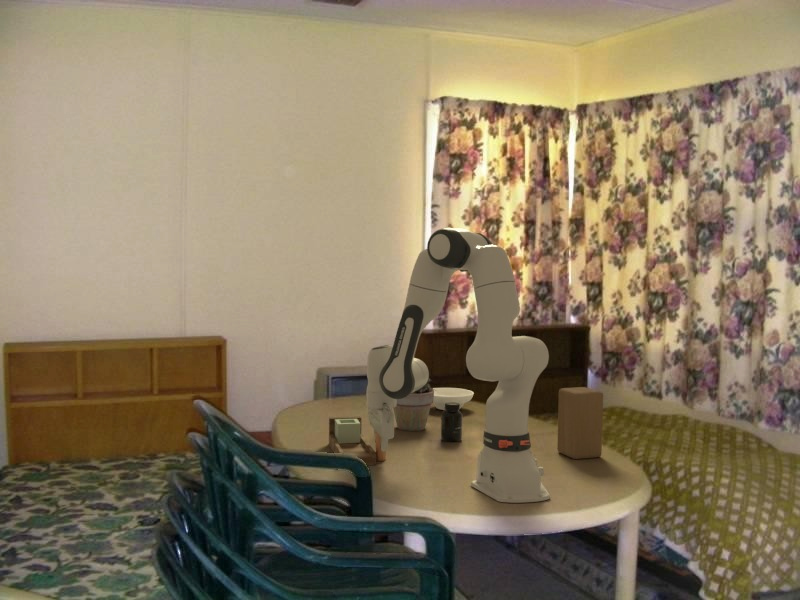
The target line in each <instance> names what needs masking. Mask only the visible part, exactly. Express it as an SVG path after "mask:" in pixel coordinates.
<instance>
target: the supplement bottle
mask: <svg viewBox="0 0 800 600" xmlns="http://www.w3.org/2000/svg"><path fill="white" fill-rule="evenodd" d="M440 417H441V420H440V421H441V422H440V423H441V425H440V438H441V440H442V441H444V442H449V443H457V442H460V441H462V440H463V439H462V438H463V436H462V435H463V413H462V412H461V411H460V404H459V403H455V402H448V403H445V410H443V411H442V412H441V416H440Z"/></svg>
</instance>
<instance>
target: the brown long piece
mask: <svg viewBox="0 0 800 600" xmlns="http://www.w3.org/2000/svg"><path fill="white" fill-rule="evenodd" d="M335 419H358V421H359V422H360V423H361V424H362V417H361V415H360V416H337V417H335V416H334V417H328V445H329V447H330V449H331V451H332V452H335V453H342V454H344V453H345V454H351V455H354V456H357V457H358V458H360V459H362V460H363V461H364V462H365V463H366V464H367V465H366V466H374V465H376V464H377V460H376V450H374V448H373V447H372V446H371V444H370V443H369V441H367V439H366V438H365V436H364V435H363V434H362V432H361V433H360V443H341V444H338V442H337V440H336V439H335Z"/></svg>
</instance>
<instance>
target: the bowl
mask: <svg viewBox="0 0 800 600" xmlns="http://www.w3.org/2000/svg"><path fill="white" fill-rule="evenodd" d="M432 388H433V390H434V399H433V403H432V404H433V405H434V407H435V408H436V409H437V410H443V411H445V403H448V402H455V403H459V404H460V409H462V407H463V406H464V405H465V404H466V403H468V402H470V401H471V400H472V398H473V396H475V395H474V394H475V393H474V391H472V390H468V389H466V388H457V387H432ZM435 390H436V391H435ZM460 409H459V410H460Z"/></svg>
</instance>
